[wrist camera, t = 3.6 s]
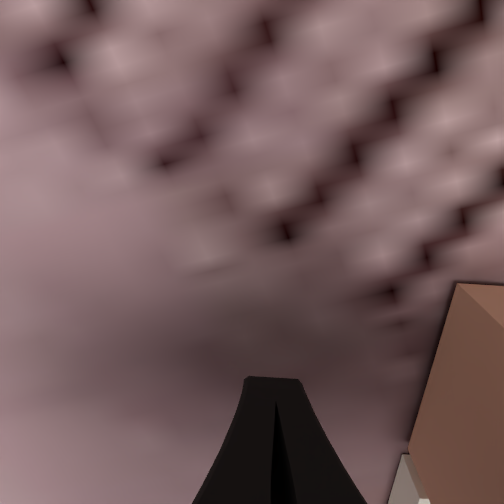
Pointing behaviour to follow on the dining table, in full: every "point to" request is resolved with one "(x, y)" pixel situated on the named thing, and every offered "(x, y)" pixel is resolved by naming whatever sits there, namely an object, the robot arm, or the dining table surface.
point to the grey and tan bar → (465, 404)
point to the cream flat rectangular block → (408, 484)
